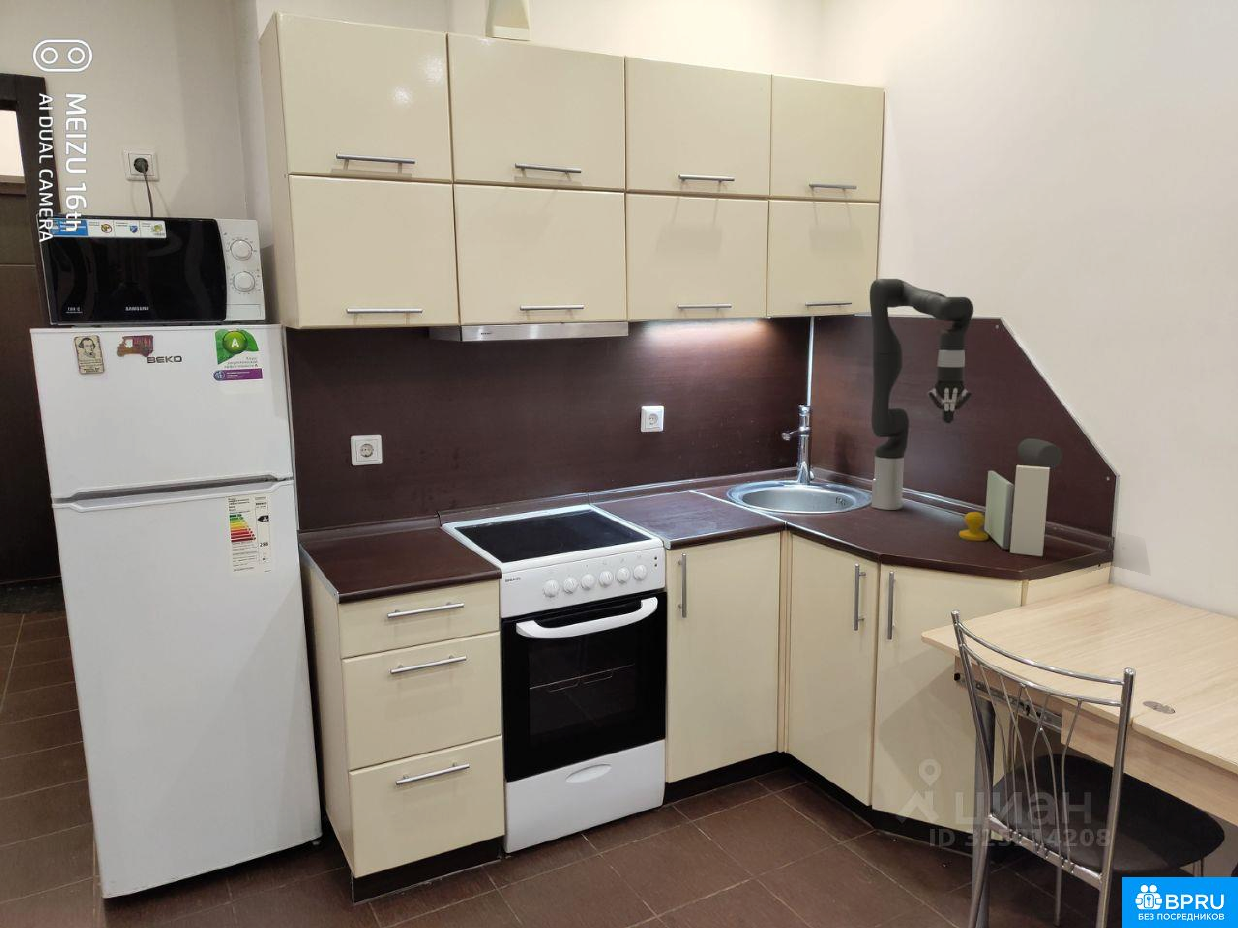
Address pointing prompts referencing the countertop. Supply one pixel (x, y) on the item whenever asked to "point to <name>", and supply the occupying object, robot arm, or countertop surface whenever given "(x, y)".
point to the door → (999, 509)
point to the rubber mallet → (1039, 453)
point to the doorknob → (974, 527)
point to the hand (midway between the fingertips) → (947, 422)
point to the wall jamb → (1029, 510)
